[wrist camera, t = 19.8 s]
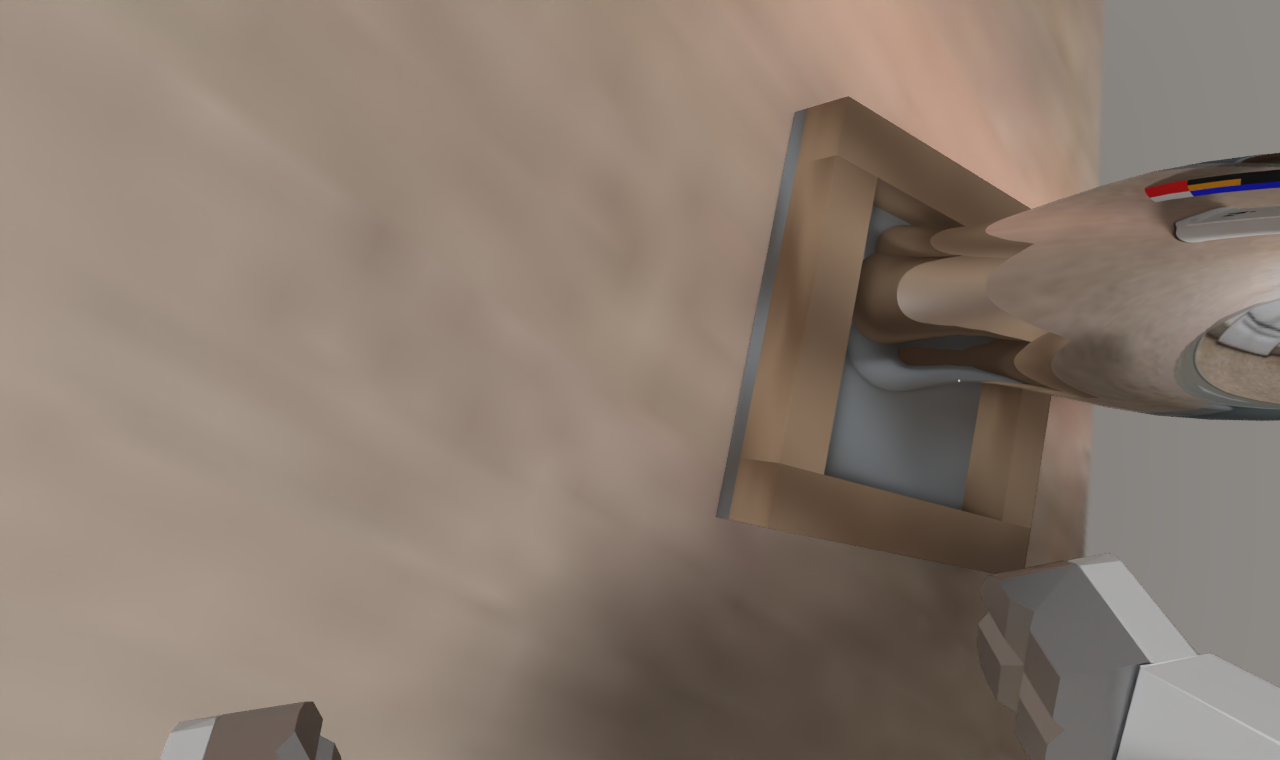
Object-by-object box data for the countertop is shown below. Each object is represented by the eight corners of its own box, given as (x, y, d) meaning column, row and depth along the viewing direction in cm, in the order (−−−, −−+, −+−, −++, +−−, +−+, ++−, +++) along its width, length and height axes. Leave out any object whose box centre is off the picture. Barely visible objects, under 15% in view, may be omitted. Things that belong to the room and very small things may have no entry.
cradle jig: (795, 112, 32) (848, 96, 30) (1021, 242, 40) (1075, 236, 38) (716, 516, 30) (767, 528, 28) (969, 567, 38) (1023, 579, 36)
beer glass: (799, 273, 31) (1327, 219, 19) (911, 179, 34) (1423, 81, 22) (873, 441, 34) (1386, 488, 21) (971, 338, 37) (1464, 328, 25)
